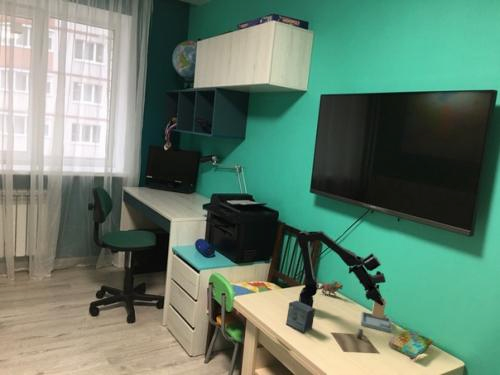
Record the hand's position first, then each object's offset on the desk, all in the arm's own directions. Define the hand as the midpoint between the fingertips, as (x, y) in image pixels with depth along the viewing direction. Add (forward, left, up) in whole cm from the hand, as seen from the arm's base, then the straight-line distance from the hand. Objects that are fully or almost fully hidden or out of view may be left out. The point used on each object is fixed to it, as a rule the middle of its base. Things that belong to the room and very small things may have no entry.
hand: (382, 303), depth 197 cm
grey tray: (-1, +1, -12) cm, 12 cm away
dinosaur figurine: (-13, +35, -12) cm, 39 cm away
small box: (-42, -7, -12) cm, 44 cm away
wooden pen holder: (-1, +1, -7) cm, 7 cm away
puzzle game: (+5, -20, -12) cm, 24 cm away
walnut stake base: (-21, -20, -12) cm, 31 cm away
